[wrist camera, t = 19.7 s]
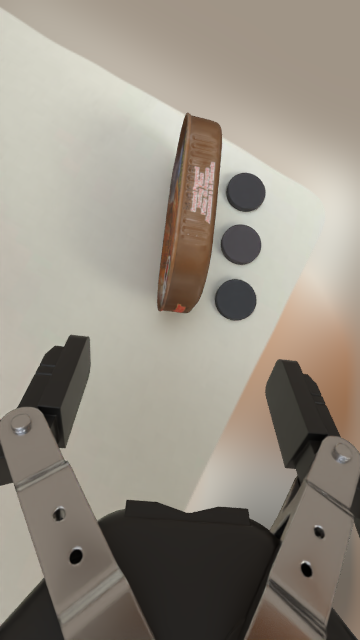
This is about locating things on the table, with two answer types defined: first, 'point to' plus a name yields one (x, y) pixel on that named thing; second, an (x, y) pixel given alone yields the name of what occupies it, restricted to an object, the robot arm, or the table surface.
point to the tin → (190, 215)
